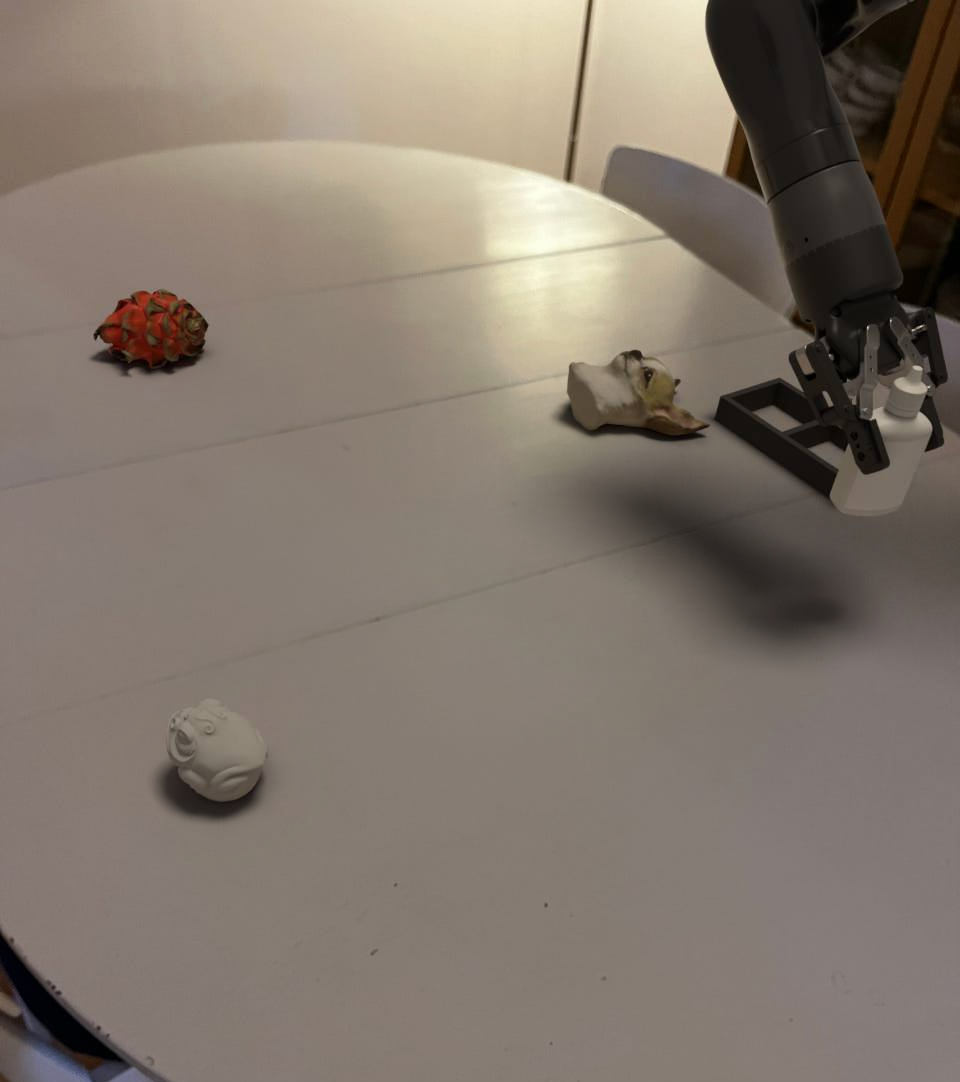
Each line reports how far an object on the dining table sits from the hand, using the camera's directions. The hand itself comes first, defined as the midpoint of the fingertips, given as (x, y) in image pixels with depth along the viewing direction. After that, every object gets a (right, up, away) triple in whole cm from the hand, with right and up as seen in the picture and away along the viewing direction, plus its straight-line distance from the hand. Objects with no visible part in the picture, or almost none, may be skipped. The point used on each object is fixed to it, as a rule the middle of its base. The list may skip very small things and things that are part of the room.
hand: (904, 459), depth 79 cm
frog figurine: (-50, -24, -6) cm, 55 cm away
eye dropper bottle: (-1, -3, +5) cm, 6 cm away
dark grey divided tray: (+2, +6, +32) cm, 33 cm away
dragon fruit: (-67, +17, +36) cm, 78 cm away
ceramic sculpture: (-16, +10, +35) cm, 39 cm away
